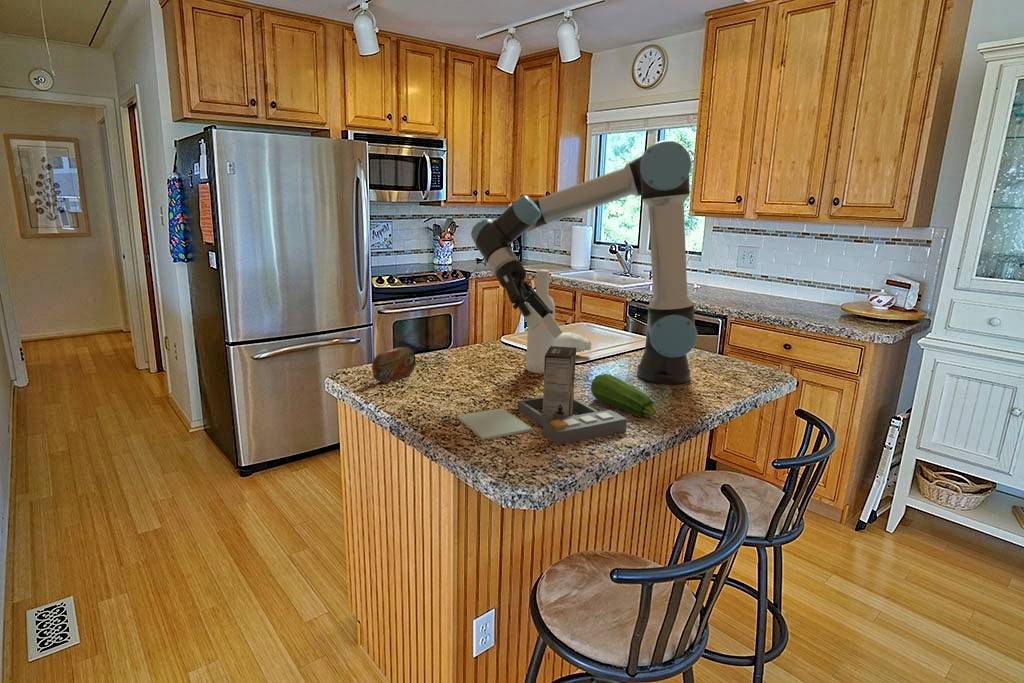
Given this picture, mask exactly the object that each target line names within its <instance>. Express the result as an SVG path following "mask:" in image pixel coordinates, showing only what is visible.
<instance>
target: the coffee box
mask: <svg viewBox="0 0 1024 683" xmlns="http://www.w3.org/2000/svg"><path fill="white" fill-rule="evenodd" d="M576 356H577V355H576V348H573V347H557V346H550V348H549V349H548V351H547V353H546V354H545V364H544V373H543V390H542V391H543V393H542V397H543V408H542V414H543V415H545V416H546V417H548V418H549V419H551V420H554V419H559V418H564V417H570V416H573V412H574V410H573V398H575V396H574V395H575V378H576V376H575V375H576Z"/></svg>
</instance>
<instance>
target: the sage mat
mask: <svg viewBox="0 0 1024 683" xmlns="http://www.w3.org/2000/svg"><path fill="white" fill-rule="evenodd" d="M457 418H458V419H459V420H458V419H457ZM456 419H457V420H458V421H459V422H460V423H462V422H463V423H464V424H465V425H466V426H465V425H464V424H463V423H462V424H463V425H464V426H465V427H467V428H468V429H469V430H470V429H471V430H472V431H473V432H472V431H471V430H470V431H471V432H472V433H473V434H475V435H476V436H477V435H478V436H479V437H480V438H479V437H478V436H477V437H478V438H479V439H480V440H481V441H486V440H485V439H488V440H493V439H498V438H503V436H504V437H507V436H508V437H509V436H513V435H518V434H524V433H529V432H533V428H532V427H530V426H529V425H528V424H526V423H525V422H523V421H522V420H520V419H519V418H518V417H516V416H515V415H513V414H512V413H511V412H509V411H508V410H507V409H505V408H503V407H501V408H495V409H490V410H484V411H483V410H482V411H476V412H470V413H463V414H459V415H458V414H457V415H456ZM497 437H498V438H497ZM492 438H493V439H492Z"/></svg>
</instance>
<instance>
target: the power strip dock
mask: <svg viewBox="0 0 1024 683" xmlns="http://www.w3.org/2000/svg"><path fill="white" fill-rule="evenodd" d="M538 409H543V396H540V397H534V398H528V399H522V400H517V412H519V413H520V414H522V415H524V416H525V417H526V418H527V419H529V420H531V421H532V422H533V423H535V424H537V425H538V426H540V427H542V428H543V430H542V435H543V436H544V437H545V438H546V439H548V440H549V441H550V442H552V443H553V444H555V445H557V446H558V445H559V446H563V444H564V445H567V444H568V443H569V444H573V443H577V441H578V442H582V440H583V441H588V440H591V439H597V438H602V437H605V436H611V435H614V434H615V433H616V434H619V433H625V432H627V426H628V418H627V417H625V416H622V415H621V414H619V413H617V412H615V411H614V410H611V409H607V410H602V411H599V410H597V409H595V408H593V407H591V406H589V405H587V404H586V403H584V402H583V401H580V400H579V399H577V398H575V397H573V411H574V412H575V411H576V412H577V413H578V414H577V415H571V416H570V417H564V418H559V419H554V420H551V419H549V418H548V417H546V416H545V415H543V413H541V412H540V411H538ZM624 431H625V432H624ZM587 439H588V440H587Z"/></svg>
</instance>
